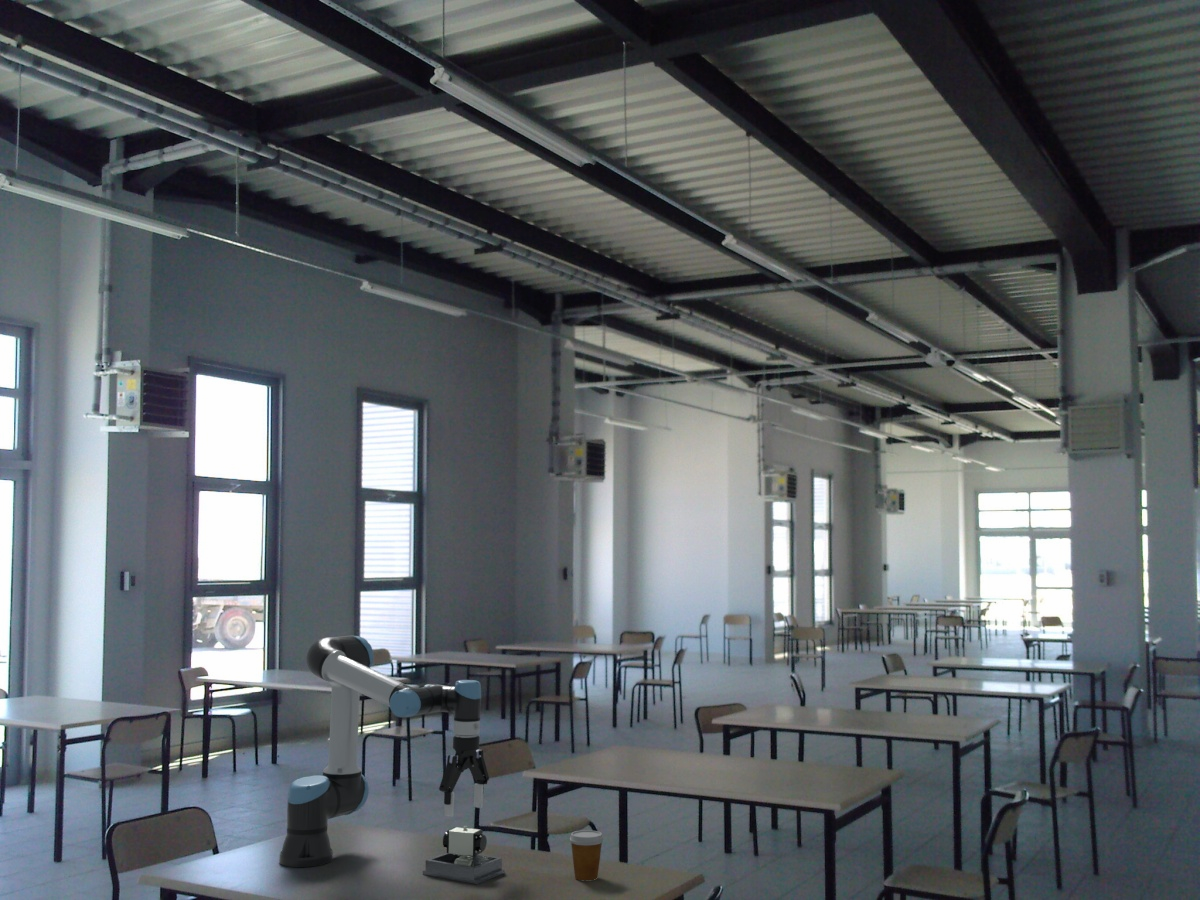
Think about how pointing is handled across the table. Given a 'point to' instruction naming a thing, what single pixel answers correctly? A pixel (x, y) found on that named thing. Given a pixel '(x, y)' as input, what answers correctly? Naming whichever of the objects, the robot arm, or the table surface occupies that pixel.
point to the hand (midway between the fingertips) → (463, 811)
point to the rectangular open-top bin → (464, 868)
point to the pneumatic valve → (464, 844)
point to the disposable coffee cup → (586, 853)
